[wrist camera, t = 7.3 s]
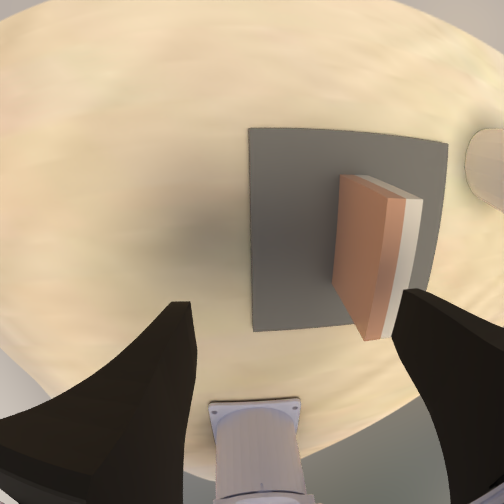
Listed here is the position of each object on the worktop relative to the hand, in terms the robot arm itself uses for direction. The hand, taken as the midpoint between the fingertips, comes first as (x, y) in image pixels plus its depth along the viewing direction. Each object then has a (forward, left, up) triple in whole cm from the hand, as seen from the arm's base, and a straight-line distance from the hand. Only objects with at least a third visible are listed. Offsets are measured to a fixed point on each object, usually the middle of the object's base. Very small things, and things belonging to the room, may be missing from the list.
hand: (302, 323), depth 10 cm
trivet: (0, -5, -9) cm, 11 cm away
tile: (0, -5, -9) cm, 10 cm away
